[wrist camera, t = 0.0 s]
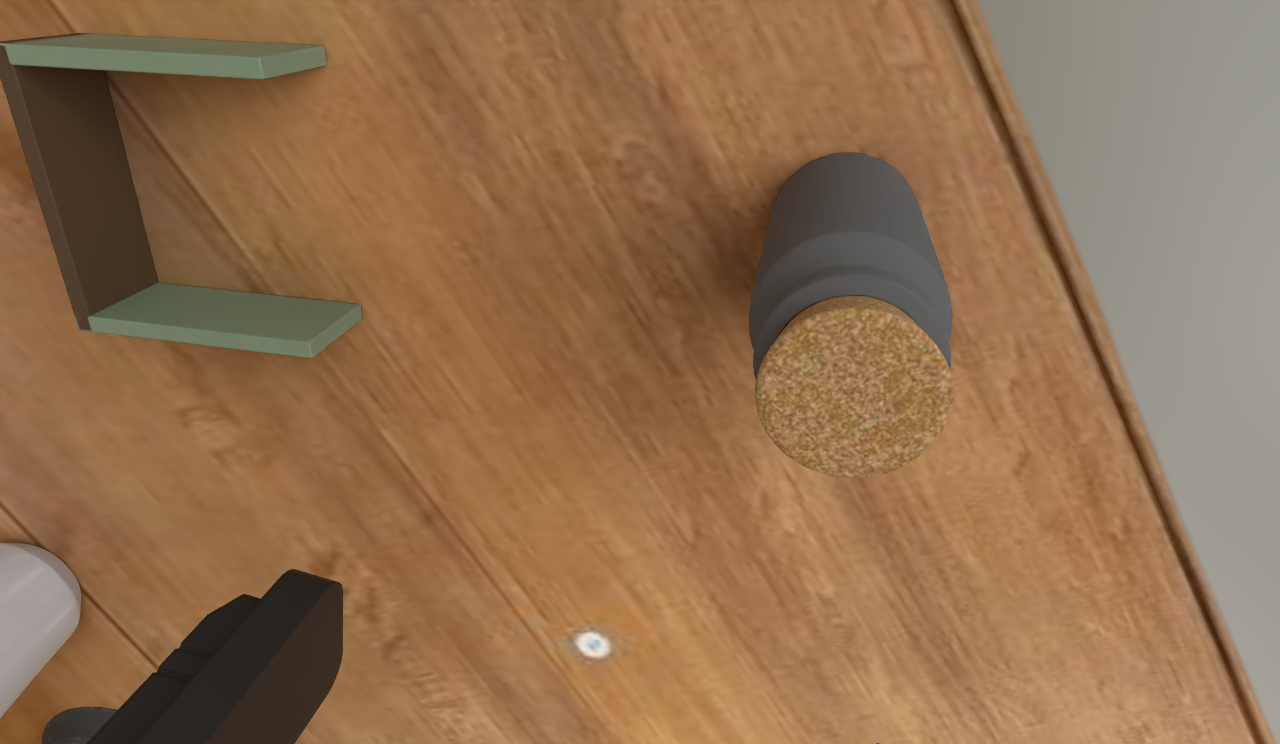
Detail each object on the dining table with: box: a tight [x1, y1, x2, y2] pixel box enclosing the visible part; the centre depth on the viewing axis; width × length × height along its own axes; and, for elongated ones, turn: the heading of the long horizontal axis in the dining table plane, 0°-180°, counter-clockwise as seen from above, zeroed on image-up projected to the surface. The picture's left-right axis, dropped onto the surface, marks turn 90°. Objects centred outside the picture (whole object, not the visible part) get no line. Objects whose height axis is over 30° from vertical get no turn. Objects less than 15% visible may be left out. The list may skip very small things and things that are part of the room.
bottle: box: [749, 152, 953, 478], centre depth 27 cm, size 6×6×15 cm
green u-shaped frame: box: [0, 33, 362, 358], centre depth 36 cm, size 12×12×4 cm
